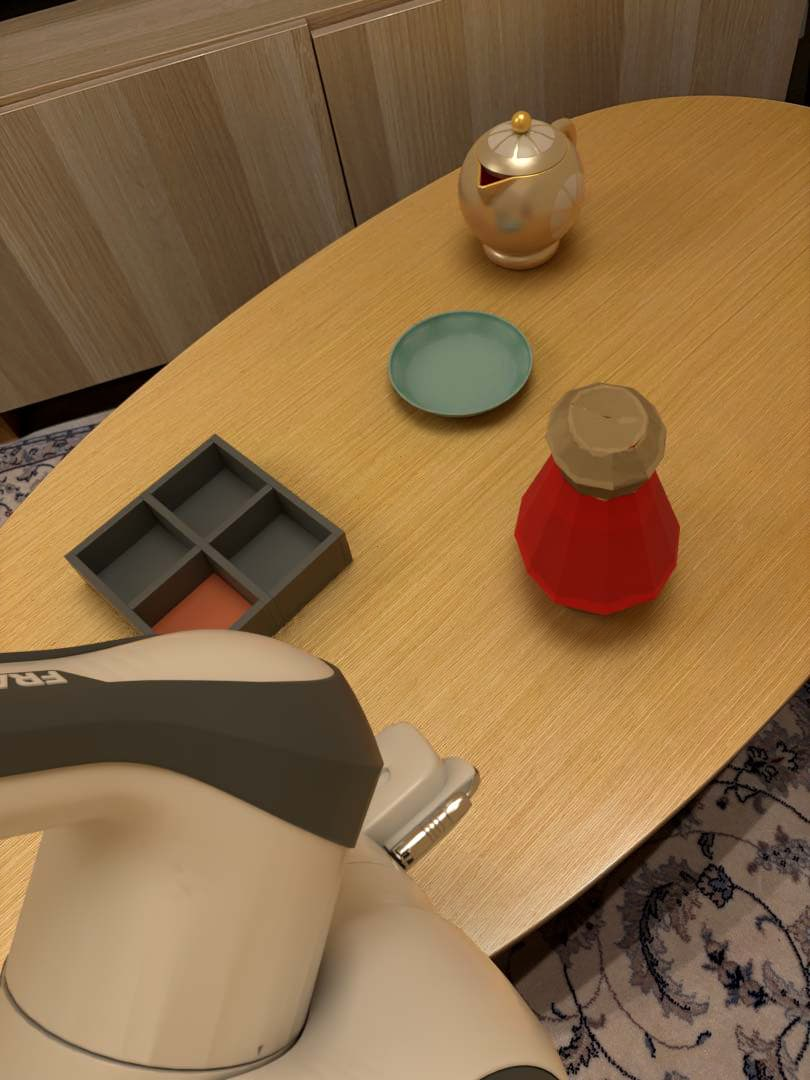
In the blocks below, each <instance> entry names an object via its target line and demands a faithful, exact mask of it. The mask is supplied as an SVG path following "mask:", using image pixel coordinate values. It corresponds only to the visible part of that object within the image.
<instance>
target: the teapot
mask: <svg viewBox="0 0 810 1080" xmlns="http://www.w3.org/2000/svg"><path fill="white" fill-rule="evenodd" d="M577 138H578V134H577V130H576V126H575V124H574V123H573V121H572V120H571V119H570V118H567V117H561V118H558V119H556V120H554V121H553V122H552V123H548V122H546V121H542V120H538V119H534V118H532V117H531V115H530V113H529V112H527V111H525V110H519V111H517V112H515V113H514V114H513V115H512V116H511V120H506V121H504V122H501V123H499V124H497V125H495V126H493V127H491V128H490V129H488V130H487V131H486V132H484V133H483V134H482V135H481V136H480V137H479V138H478V139H477V140H476V141H475V142H474V143H473V145H472V146H471V147H470V149H469V151H468V152H467V154H466V156H465V158H464V160H463V162H462V164H461V168H460V171H459V176H458V182H457V183H458V184H457V196H458V197H457V198H458V204H459V209H460V212H461V215H462V218H463V220H464V222H465V224H466V226H467V227H468V229H469V230H470V232H471V233H472V234H473V235H474V236H475V237H476V239H478V241H480V242H481V245H482V250H483V252H484V254H485V256H486V257H487V258H488V259H489V261H490V262H492V263H494V264H495V265H497V266H498V267H502V268H504V269H509V270H518V271H519V270H529V269H533V268H536V267H539V266H541V265H544V264H545V263H547V262H548V261H550V260H551V259H552V258H553V256H554V255H555V254H556V253H557V251H558V249H559V245H560V242H561V239H562V238H563V237H564V236H565V235H566V234H567V233H568V232H569V230H570V229H571V228H572V227H573V225H574V224H575V222H576V220H577V218H578V216H579V214H580V212H581V209H582V207H583V203H584V198H585V193H586V174H585V168H584V164H583V161H582V158H581V155H580V154H579V152H578V149H577V144H578V143H577V141H578V140H577Z"/></svg>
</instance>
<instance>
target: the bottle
mask: <svg viewBox="0 0 810 1080" xmlns="http://www.w3.org/2000/svg"><path fill="white" fill-rule="evenodd" d="M545 430H546V431H545V436H544V438H545V441H546V443H547V445H548V448H549V452H550V455H549V456H548V458H547V459H546V461H545V462H544V463H543V465H542V467H541V468H540V470H539V471H538V473H537V474H536V475H535V477H534V478H533V480H532V482H531V483H530V485H529V486H528V488H527V489H526V491H525V492H524V493H523V495H522V496H521V500H520V504H519V509H518V514H517V518H516V522H515V526H514V527H515V528H514V531H513V536H514V538H515V542H516V545H517V547H518V550H519V553H520V556H521V560H522V562H523V566H524V567H525V571H526V573H527V574H528V575H529V576H530V577H531V579H532V580H533V581H534V582H535V583H536V585H538V586H539V587H540V589H541V590H542V591H543V593H545V595H547V596H548V598H549V599H550V600H551V602H553V604H555V605H556V604H557V605H559V606H561V607H565V608H567V609H572V610H574V611H581V612H584V613H587V614H592V615H596V616H597V615H598V616H599V615H600V616H608V615H611V614H614V613H618V612H622V611H624V610H627V609H630V608H634V607H636V606H640V605H642V604H645V603H648V602H651V601H655V600H657V599H658V597H659V595H660V593H661V592H662V591H663V589H664V587H665V585H666V584H667V583H668V581H669V579H670V577H671V576H672V574H673V572H674V571H675V569H676V567H677V564H678V554H679V543H680V533H681V525H680V523H679V520H678V518H677V516H676V513H675V512H674V511H675V510H674V509H673V507H672V504H671V501H670V499H669V497H668V496H667V493H666V491H665V488H664V486H663V484H662V482H661V479H660V477H659V475H658V472H657V470H656V469H657V468H658V466H659V465H660V463H661V462H662V461H663V459H664V457H665V451H666V450H665V449H666V441H667V434H668V433H667V432H668V430H667V428H666V426H665V423H664V421H663V420H662V418H661V416H660V414H659V412H658V409H657V408H656V406H655V405H654V404H653V403H652V402H651V401H650V400H648V399H647V398H646V397H645V396H644V395H643V394H641V393H640V392H639V391H638V390H637V389H636V388H635V387H631V386H625V385H618V384H612V383H607V382H601V381H597V382H594V383H590V384H588V385H584V386H580V387H578V388H575V389H571V390H567V391H565V392H564V394H563V395H562V396H561V397H560V399H558V401H557V402H556V404H555V405H554V406H553V408H552V409H551V411H550V412H549V417H548V421H547V426H546V429H545Z"/></svg>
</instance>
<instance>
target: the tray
mask: <svg viewBox="0 0 810 1080" xmlns="http://www.w3.org/2000/svg"><path fill="white" fill-rule="evenodd" d="M63 558H64V559H65V560H66V561H67V562H68V564H69V565H70V566H71V567H72V569H73V570H75V572H76V574H77V575H79V577H80V578H81V579H82V580H83V581H84V583H85V584H86V585H87V586H88V587H89V588H90V589H91V590H93V592H94V593H95V594H96V595H98V597H100V599H101V600H102V601H103V602H105V603H106V604H107V606H108V607H110V609H112V610H113V612H115V613H116V614H117V615H118V616H119V617H120V619H122V620H123V621H124V622H125V623H126V624H127V625H128V626H129V627H130V628H131V629H132V630H133V631H134V632H135V633H136V634H138V635H137V636H142V635H152V634H170V633H175V632H181V631H190V630H200V629H224V630H234V631H243V632H249V633H254V634H259V635H263V636H267V637H271V638H273V637H274V636H275V635H276V634H277V633H278V632H279V631H280V630H281V629H282V628H283V627H284V626H285V625H286V624H288V622H289V621H290V620H291V619H293V618H294V617H295V616H296V615H297V614H298V613H299V612H300V611H301V610H302V609H303V608H304V607H305V606H306V605H308V604H309V603H310V601H312V600H313V599H314V598H315V597H316V596H317V595H318V594H319V593H320V592H321V591H322V590H323V589H325V588H326V587H327V585H328V584H329V583H331V582H332V581H333V580H334V579H335V578H336V577H337V576H338V575H339V574H340V573H341V572H342V571H344V569H346V567H347V566H349V565H350V564H351V563H352V562H353V560H354V559H353V555H352V551H351V548H350V545H349V542H348V539H347V536H346V531H345V530H343V529H342V528H340V527H339V526H337V524H335V523H334V522H332V521H331V520H330V519H329V518H327V517H326V516H324V515H323V514H321V512H319V511H318V510H316V509H315V508H314V507H313V506H311V505H310V504H309V503H308V502H306V501H305V500H304V499H303V498H301V497H300V496H298V495H297V494H296V493H294V491H291V490H290V489H289V488H288V487H287V486H285V485H284V484H282V483H281V482H280V481H279V480H277V479H276V478H275V477H273V476H272V475H271V474H270V473H268V472H267V471H265V470H264V469H263V468H261V467H260V466H259V465H258V464H256V463H255V462H254V461H252V460H251V459H250V458H248V457H247V456H246V455H244V454H243V453H242V452H241V451H239V450H238V449H237V448H235V447H234V446H233V445H231V444H230V443H229V442H227V441H226V440H224V439H223V438H222V437H221V436H219V435H218V434H217V433H214V434H212V435H211V436H210V437H208V438H207V439H205V441H204V442H202V443H201V444H200V445H199V446H198V447H196V448H195V449H194V450H193V451H191V452H190V453H189V454H188V455H186V456H185V457H184V458H183V459H181V460H180V461H179V462H178V463H177V464H175V465H174V466H173V467H171V468H170V469H169V470H168V471H167V472H165V473H164V474H163V475H162V476H161V477H159V478H158V479H157V480H156V481H155V482H153V483H152V484H151V485H149V486H148V487H147V488H146V489H144V490H143V491H142V492H141V493H140V494H139V495H138V496H136V497H135V498H134V499H132V500H131V501H130V502H129V503H127V504H126V505H125V506H123V508H121V509H120V510H119V511H118V512H116V513H115V514H114V515H113V516H111V517H110V518H109V519H108V520H107V521H106V522H104V523H102V525H101V526H99V527H98V528H96V529H95V530H94V531H93V532H92V533H91V534H89V535H88V536H87V537H86V538H84V540H82V541H81V542H80V543H78V544H77V545H76V546H74V547H73V548H72V549H71V550H70V551H68V552H67V553H66V554H65V555H63Z"/></svg>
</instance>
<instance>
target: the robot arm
mask: <svg viewBox="0 0 810 1080" xmlns="http://www.w3.org/2000/svg"><path fill="white" fill-rule="evenodd" d="M481 784H482V778H481V774H480V771H479V769H478V768H477V767H475V766H474V765H473V764H471V763H470V762H468V761H466V760H465V759H463V758H461V757H459V756H447V757H444V758H442V757H441V756H440V755H439V753H438V752H437V751H436V750H435V748H434V747H433V745H432V744H431V743H430V741H429V740H428V739H427V738H426V736H425V735H424V734H423V733H422V732H421V731H420V730H419V729H418V728H416V727H415V726H414V725H413V724H411V723H409V722H408V721H401V722H395V723H392V724H390V725H388V726H385V728H383V729H381V731H379V732H378V733H377V734H374V731H373V729H372V726H371V725H370V721H369V720H368V717H367V715H366V713H365V711H364V709H363V707H362V705H361V703H360V701H359V699H358V697H357V696H356V693H355V692H354V690H353V689H352V686H351V685H350V683H349V681H348V680H347V678H346V676H345V675H344V673H342V670H341V669H340V668H339V667H338V666H337V665H335V664H333V663H332V662H329V661H328V660H326V659H323V658H321V657H319V656H316V655H315V654H313V653H311V652H309V651H308V650H305V649H303V648H301V647H299V646H296V645H294V644H291V643H289V642H286V641H283V640H281V639H277V638H273V637H267V636H263V635H259V634H254V633H249V632H243V631H234V630H224V629H200V630H190V631H181V632H175V633H170V634H152V635H142V636H139V635H136V636H129V637H123V638H117V639H112V640H105V641H100V642H95V643H93V642H92V643H88V644H82V645H76V646H69V647H59V648H49V649H48V648H47V649H39V650H38V649H36V650H22V651H8V652H0V841H2V840H8V839H11V838H17V837H20V836H25V835H30V834H34V833H39V832H42V835H41V839H40V841H39V842H40V843H39V846H38V849H37V852H36V856H35V860H34V863H33V867H32V871H31V874H30V876H29V881H28V884H27V888H26V891H25V895H24V898H23V902H22V905H21V909H20V913H19V916H18V920H17V923H16V925H15V926H16V927H15V930H14V933H13V937H12V940H11V943H10V944H11V945H10V947H9V952H8V954H7V955H6V957H5V959H4V961H3V963H2V967H1V970H0V1080H570V1078H569V1076H568V1073H567V1070H566V1068H565V1066H564V1063H563V1061H562V1059H561V1056H560V1054H559V1052H558V1050H557V1048H556V1047H555V1045H554V1043H553V1041H552V1040H551V1038H550V1035H549V1034H548V1032H547V1031H546V1029H545V1027H544V1026H543V1025H542V1023H541V1021H540V1020H539V1019H538V1017H537V1015H536V1014H535V1013H534V1011H533V1010H532V1009H531V1007H530V1006H529V1005H528V1004H527V1002H526V1001H525V999H524V997H522V996H521V994H520V993H519V992H518V990H517V989H516V988H515V987H514V985H513V983H511V981H510V980H509V979H508V978H507V976H506V975H505V974H504V972H502V971H501V969H500V968H499V967H498V966H497V965H496V964H495V963H494V962H493V960H491V958H490V957H489V956H488V955H487V954H486V952H484V951H483V950H482V949H481V947H480V946H479V945H478V944H477V943H476V942H475V941H474V940H473V939H472V938H471V937H470V936H469V935H468V934H467V933H466V932H465V931H463V929H461V928H460V927H459V926H458V924H457V925H456V924H455V922H452V920H450V919H448V918H446V917H444V916H442V915H441V914H439V911H438V909H437V907H436V905H435V904H434V902H433V900H432V899H431V897H430V896H429V895H428V893H427V892H426V891H425V890H424V889H423V887H422V886H420V884H418V882H417V881H416V880H415V879H414V878H413V877H412V876H411V875H410V874H409V873H408V872H409V871H410V870H411V869H412V868H414V866H415V865H416V864H417V863H419V861H420V860H422V859H423V858H424V857H425V856H426V855H428V853H429V852H430V851H431V850H433V848H435V847H436V846H437V845H439V844H440V842H441V841H443V839H444V838H446V836H448V835H449V834H450V833H451V832H452V831H453V829H455V828H456V826H457V825H458V824H459V823H460V821H461V819H462V818H464V817H465V815H466V814H468V812H469V810H470V809H471V808H472V806H473V803H472V801H471V799H472V797H473V796H474V795H475V794H476V792H477V790H478V788H479V786H481Z"/></svg>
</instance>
